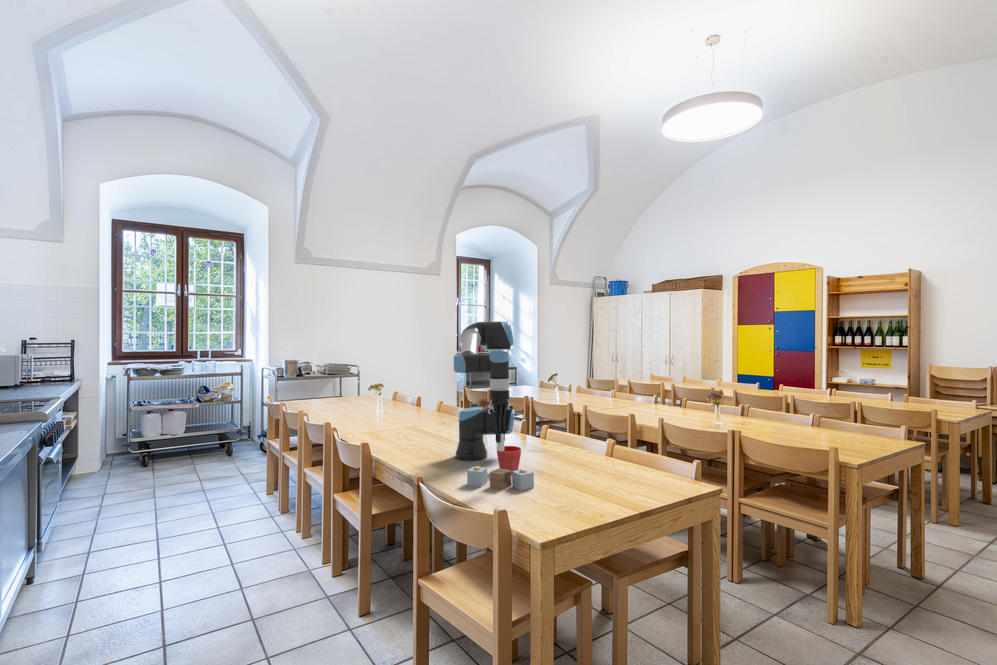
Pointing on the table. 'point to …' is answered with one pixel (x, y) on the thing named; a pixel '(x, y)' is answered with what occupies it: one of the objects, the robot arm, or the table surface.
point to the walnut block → (500, 479)
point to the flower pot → (509, 458)
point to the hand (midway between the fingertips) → (500, 450)
